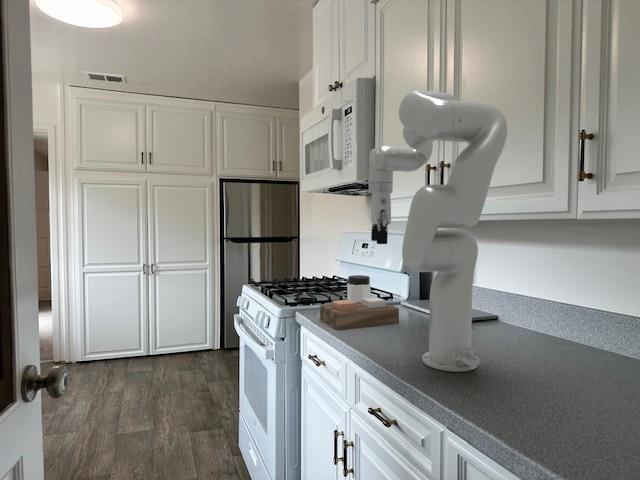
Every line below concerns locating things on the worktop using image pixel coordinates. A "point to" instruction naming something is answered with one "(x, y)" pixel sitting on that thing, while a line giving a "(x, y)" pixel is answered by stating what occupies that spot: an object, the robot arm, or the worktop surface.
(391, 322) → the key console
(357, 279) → the jar
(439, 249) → the robot arm
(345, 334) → the worktop surface
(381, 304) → the offwhite key
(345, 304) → the terracotta key
